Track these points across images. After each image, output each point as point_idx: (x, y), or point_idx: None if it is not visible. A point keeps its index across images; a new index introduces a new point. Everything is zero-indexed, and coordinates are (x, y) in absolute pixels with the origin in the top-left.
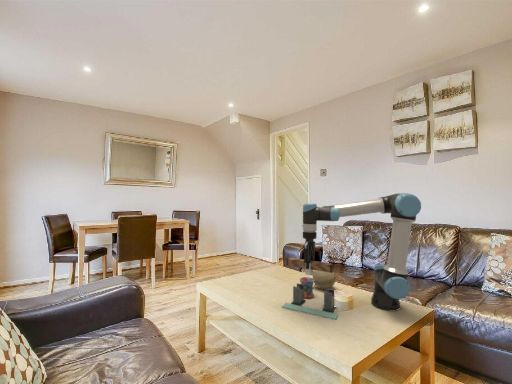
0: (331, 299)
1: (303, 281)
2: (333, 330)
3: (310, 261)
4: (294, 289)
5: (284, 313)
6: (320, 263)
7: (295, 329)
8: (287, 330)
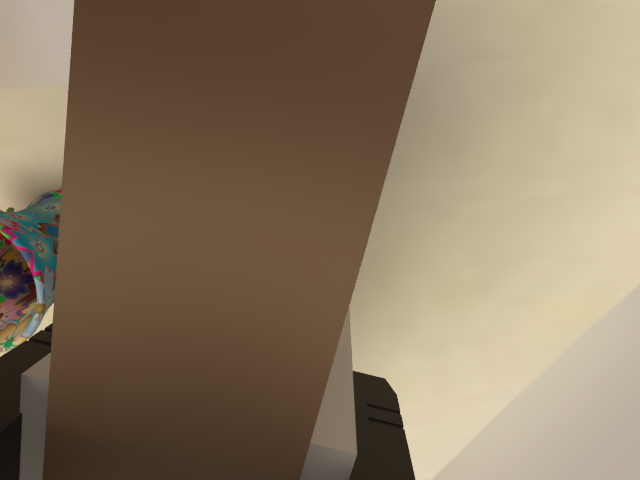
0: None
1: (42, 311)
2: (580, 18)
3: (203, 477)
4: None
5: (403, 341)
6: (420, 34)
7: (598, 254)
8: (616, 295)
